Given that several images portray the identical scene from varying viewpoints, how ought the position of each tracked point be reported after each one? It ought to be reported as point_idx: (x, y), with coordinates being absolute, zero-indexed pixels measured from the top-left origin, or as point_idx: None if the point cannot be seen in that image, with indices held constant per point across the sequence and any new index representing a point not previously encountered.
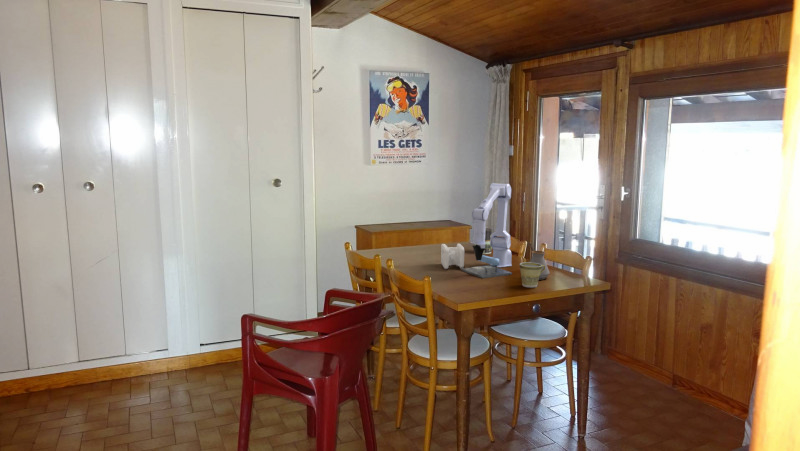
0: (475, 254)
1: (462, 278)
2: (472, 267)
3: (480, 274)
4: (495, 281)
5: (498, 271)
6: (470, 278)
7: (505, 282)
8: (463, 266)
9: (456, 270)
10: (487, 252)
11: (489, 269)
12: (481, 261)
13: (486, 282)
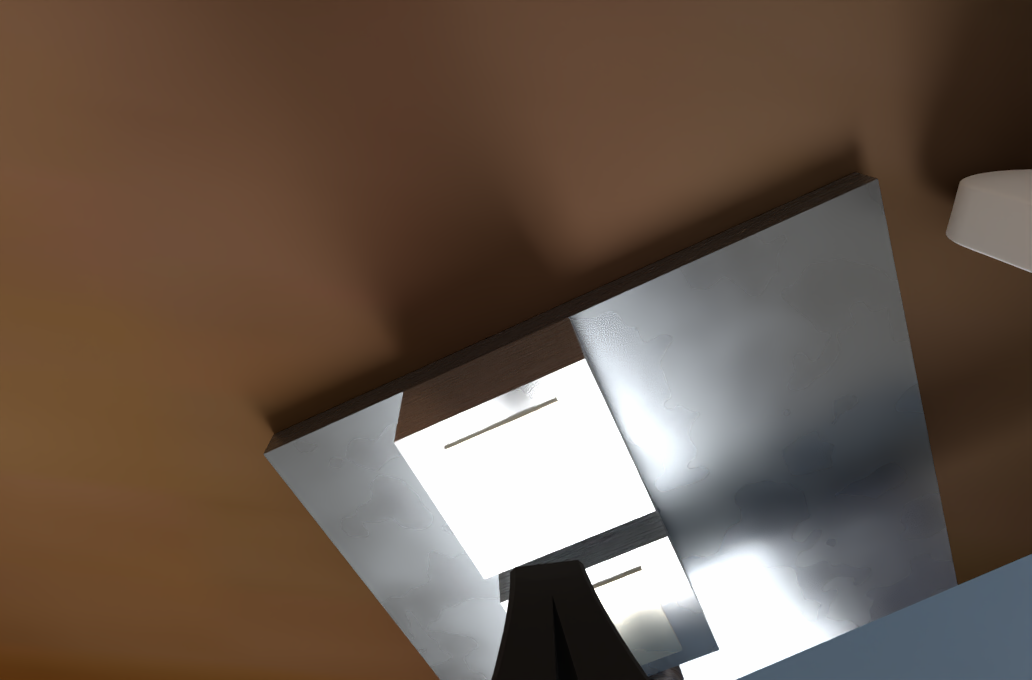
0: (589, 673)
1: (207, 86)
2: (565, 380)
3: None
4: (112, 572)
5: None
6: (236, 246)
7: (88, 666)
8: (949, 236)
9: (894, 71)
10: None
11: None
12: (960, 585)
13: (5, 455)
